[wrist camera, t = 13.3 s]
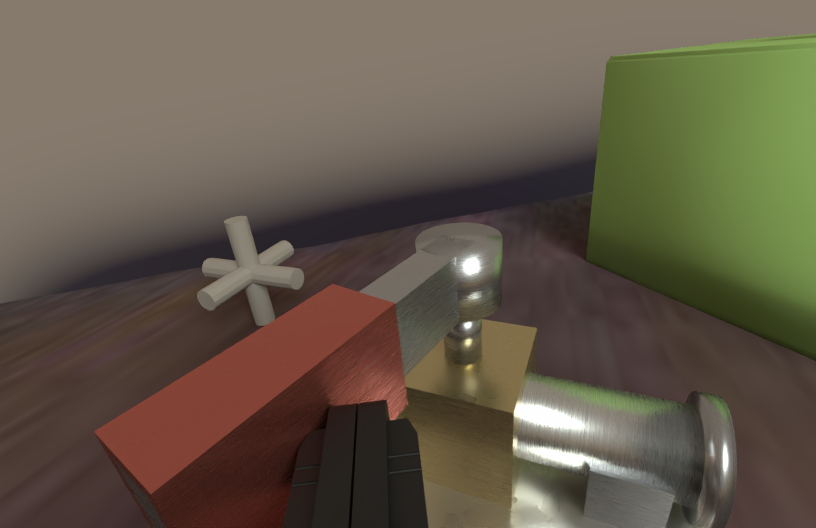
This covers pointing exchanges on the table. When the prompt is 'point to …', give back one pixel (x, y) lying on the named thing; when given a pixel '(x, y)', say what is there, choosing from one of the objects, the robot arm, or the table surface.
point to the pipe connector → (249, 272)
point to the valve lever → (296, 385)
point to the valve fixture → (560, 443)
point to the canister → (714, 181)
